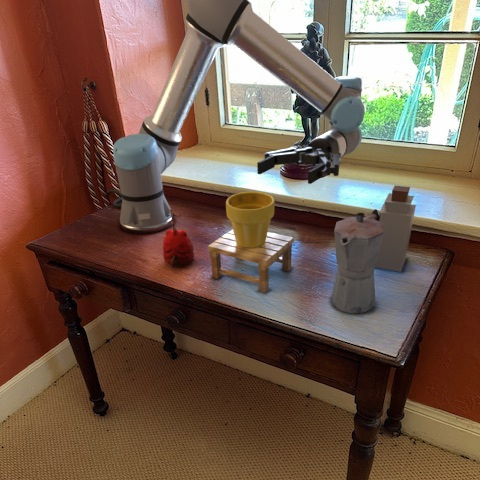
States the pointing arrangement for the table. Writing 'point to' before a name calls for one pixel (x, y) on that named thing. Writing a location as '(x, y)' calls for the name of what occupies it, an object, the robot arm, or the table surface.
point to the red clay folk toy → (177, 246)
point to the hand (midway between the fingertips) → (283, 173)
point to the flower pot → (250, 217)
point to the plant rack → (252, 256)
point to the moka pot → (357, 261)
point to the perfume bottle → (395, 228)
